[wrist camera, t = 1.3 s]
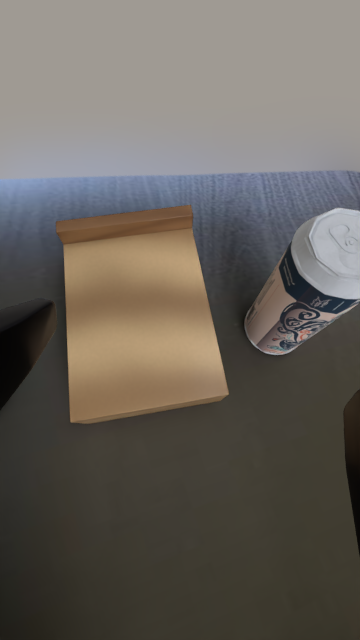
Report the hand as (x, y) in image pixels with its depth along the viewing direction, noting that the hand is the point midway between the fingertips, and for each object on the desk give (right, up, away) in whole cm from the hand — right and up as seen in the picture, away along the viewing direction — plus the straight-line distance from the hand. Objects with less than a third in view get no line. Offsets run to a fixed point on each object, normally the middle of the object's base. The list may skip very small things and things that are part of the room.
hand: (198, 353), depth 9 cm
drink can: (+7, 0, +16) cm, 18 cm away
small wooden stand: (-4, 0, +16) cm, 16 cm away
